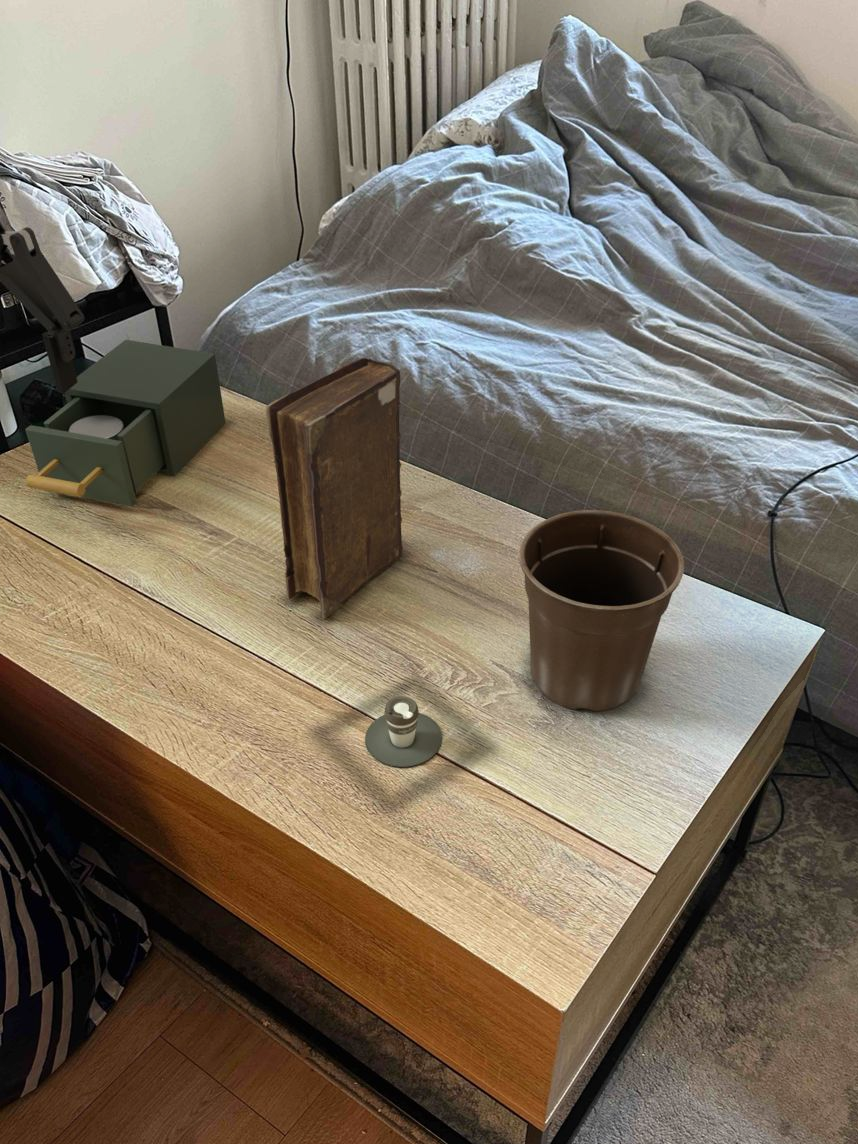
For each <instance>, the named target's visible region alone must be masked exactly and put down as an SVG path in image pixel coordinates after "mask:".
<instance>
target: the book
mask: <svg viewBox="0 0 858 1144" xmlns="http://www.w3.org/2000/svg"><path fill="white" fill-rule="evenodd" d="M400 389H401V371H400V369H399V368H397V367H396V366H395V365H394V364H390V363H388V362H384V361H381V360H375V359H372V358H366V357H361V358H359V359H356V360H354V361H352V362H349V363H347V364H346V365H342V366H341V367H340V368H339V369H337V370H335V371H333V372H331V373H329V374H327V375H325V376H323V377H320V378H319V379H316V380H314V381H313V382H310V383H308V384H306V385H305V386H302V387H301V388H299V389H297V390H295V391H292V392H288V393H286V394H284V395H283V396H280V397H279V398H278V399H275V400H274V401H272V402H270V403H269V404H267V405H266V406H265V413H266V421H267V422H266V423H267V429H268V436H269V438H270V442H271V445H272V452H273V453H272V454H273V459H274V460H273V463H275V465H274V468H275V473H276V480H277V481H276V482H277V490H278V497H279V499H278V500H279V510H280V520H281V530H282V537H283V538H282V539H283V541H282V542H283V553H284V558H285V560H284V561H285V572H284V576H285V578H284V579H285V589H286V597H287V599H288V600H292V599H293V598H295V597H296V596H298V595H299V594H300V593H301V592H304V593H307V594H308V595H311V596H312V597H313V598H315V599H317V600H318V601H319V605H320V606H319V607H320V615H321V618H322V619H326V618H328V617H330V616H331V615H333V613H335V612H336V611H338V610H339V609H340V608H341V607H342V606H343V605H344V604H345V603H347V602H348V600H350V598H351V597H353V596H354V595H355V594H356V593H357V592H358V591H359V590H360V589H361V588H362V587H364V586H365V585H366V584H367V583H369V582H370V581H371V580H373V579H374V578H375V577H376V576H377V575H379V574H380V573H381V572H383V571H386V570H387V569H388V568H389V567H391V566H393V565H394V564H395V563H396V562H397V561H398V560H399V559H400V558H401V557H402V553H403V537H402V536H403V535H402V522H403V516H402V509H401V508H402V503H401V496H402V495H403V493H402V489H401V467H402V463H401V461H400V460H401V459H400V458H401V453H400V448H401V446H400V445H401V443H400V440H401V437H402V434H401V433H400V410H401V409H400V408H401V402H400V391H401V390H400Z"/></svg>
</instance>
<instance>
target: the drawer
mask: <svg viewBox="0 0 858 1144" xmlns="http://www.w3.org/2000/svg"><path fill="white" fill-rule="evenodd" d="M97 415H106V416H112V417H116V418H118V419H120V420H121V421H122V423H123V425H124V430H123V431H122V432H121V433H120V434H118V435H117V437H118V441H117V440H112V439H106V438H100V437H95V436H89V435H83V434H78V433H72V432H69V428H70V426H71V425H72V424H73V423H75V422H76V421H78V420H80V419H83V418H86V417H90V416H97ZM43 425H44V427H42V426H38V425H32V424H31V425H29V426H28V427H26V428H25V433H26V434H25V435H26V436H27V440H28V443H29V447H30V449H31V452H32V456H33V459H34V462H35V465H36V468H37V473H36V474H33V473H32V474H28V475H27V476H26V478H25V484H26V486H27V487H28V488H31V489H36V490H40V491H45V492H49V493H56V494H61V495H66V496H70V497H77V498H81V499H87V500H93V501H97V502H103V503H108V504H114V505H118V506H124V507H129V508H133V507H134V506H135V505H136V504H138V503H137V502H138V501H137V497H136V494H138V493H139V491H140V490H142V488H143V487H144V486H145V485H146V484H147V483H148V482H149V481H151V480H152V479H153V477H155V475H156V474H157V472H158V471H159V470H160V469H161V468H162V467H163V466H164V465H165V464H166V461H165V457H164V452H163V447H162V443H161V438H160V433H159V428H158V424H157V419H156V414H155V409H151V408H145V407H139V406H133V405H127V404H121V403H115V402H110V401H104V400H98V399H92V398H86V397H80V396H77V397H75V398H74V399H73V400H72V401H70V402H69V403H68V404H67V403H66V404H65V405H64V406H63V407H62V408H60V409H59V410H58V411H56V412H55V413H54V414H53V415H52V416H50V417H49V418H48V419H46V420H45V421H44V422H43Z"/></svg>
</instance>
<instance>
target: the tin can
mask: <svg viewBox="0 0 858 1144" xmlns="http://www.w3.org/2000/svg"><path fill="white" fill-rule="evenodd" d="M123 430H124V425H123V423H122V421H121V420H120V419H118V418H116V417H112V416H106V415H97V416H90V417H86V418H83V419H80V420H78V421H76V422H75V423H73V424H72V425H71V426H70V428H69V432H72V433H78V434H83V435H89V436H95V437H100V438H106V439H112V440H117V441H118V437H117V435H118V434H120V433H121V432H122V431H123Z"/></svg>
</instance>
